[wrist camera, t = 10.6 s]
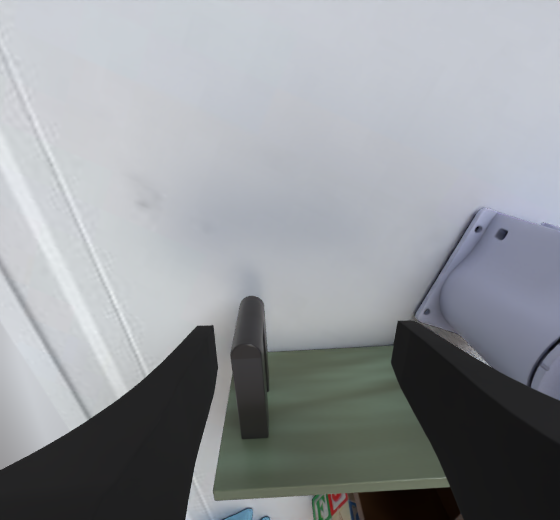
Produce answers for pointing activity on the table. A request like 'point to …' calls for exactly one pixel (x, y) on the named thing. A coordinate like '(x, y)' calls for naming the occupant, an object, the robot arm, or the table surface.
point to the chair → (244, 516)
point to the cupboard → (408, 505)
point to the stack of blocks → (335, 507)
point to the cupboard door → (317, 422)
